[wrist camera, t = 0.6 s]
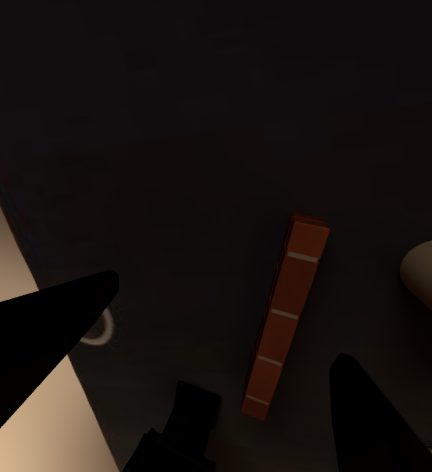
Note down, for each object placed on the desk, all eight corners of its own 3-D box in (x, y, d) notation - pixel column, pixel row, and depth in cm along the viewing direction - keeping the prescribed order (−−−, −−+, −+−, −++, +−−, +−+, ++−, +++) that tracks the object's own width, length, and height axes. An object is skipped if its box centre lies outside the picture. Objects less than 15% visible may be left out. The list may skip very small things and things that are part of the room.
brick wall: (266, 383, 27) (264, 421, 23) (245, 376, 27) (240, 412, 23) (319, 217, 20) (330, 229, 16) (291, 211, 20) (294, 221, 16)
